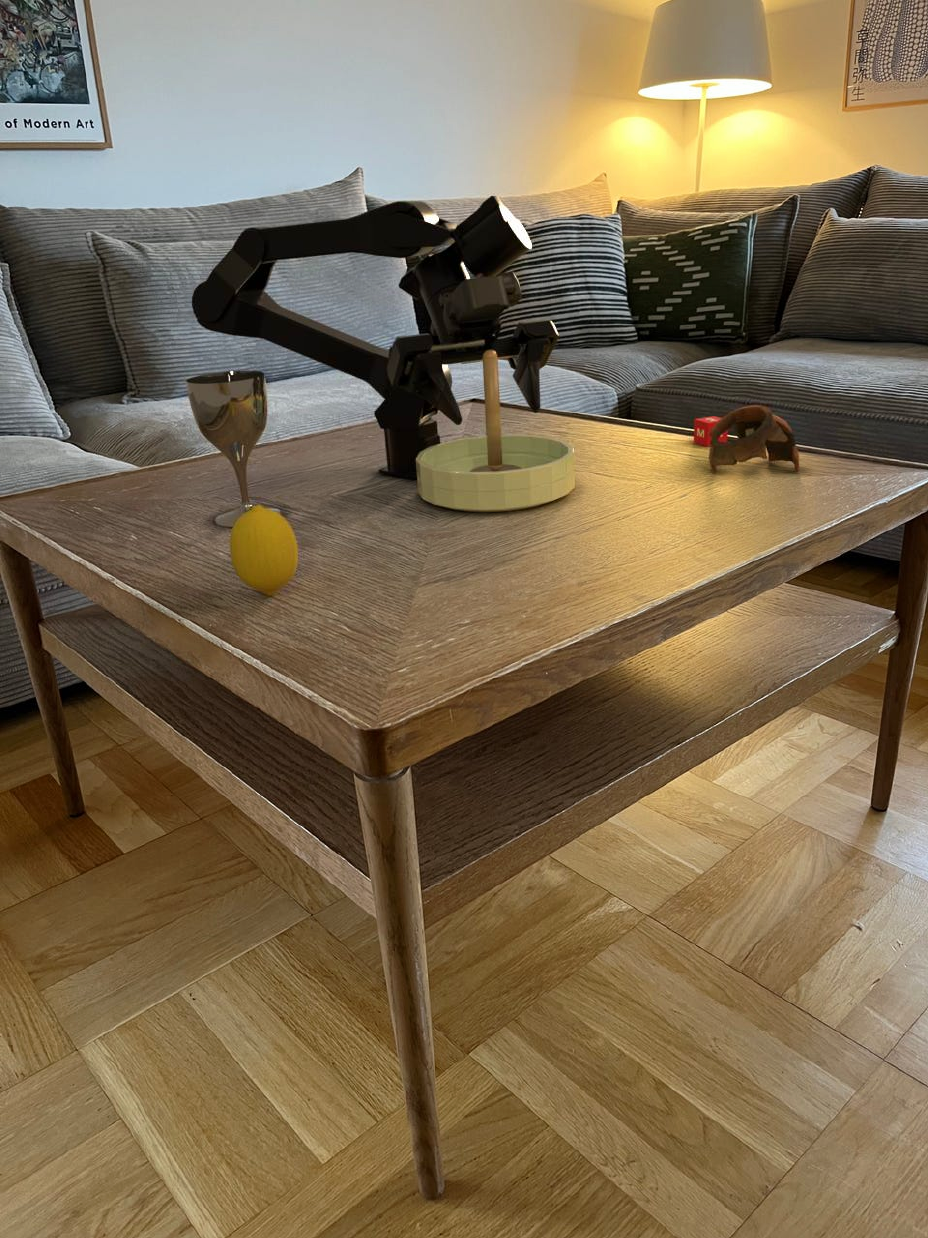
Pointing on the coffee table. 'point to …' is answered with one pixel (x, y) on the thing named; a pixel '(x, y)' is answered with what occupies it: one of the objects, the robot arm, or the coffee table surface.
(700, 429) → the dice
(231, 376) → the wine glass
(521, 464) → the bowl
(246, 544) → the lemon
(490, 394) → the stirring stick
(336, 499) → the coffee table surface
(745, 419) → the brown arched hollow part
